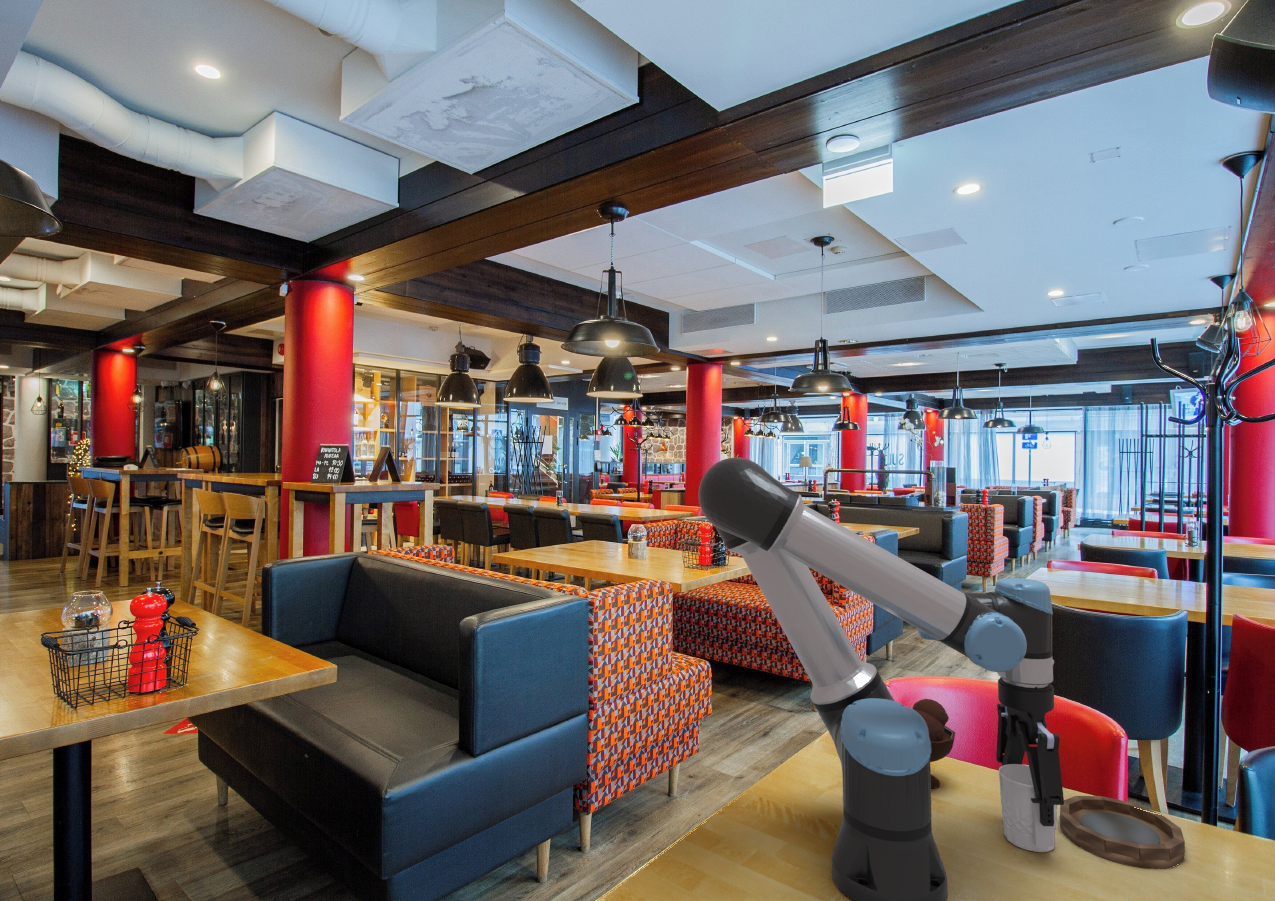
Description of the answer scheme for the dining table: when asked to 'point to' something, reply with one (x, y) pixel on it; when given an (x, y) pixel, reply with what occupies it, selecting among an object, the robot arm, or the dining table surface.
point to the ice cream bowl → (936, 731)
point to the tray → (1122, 832)
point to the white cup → (1019, 806)
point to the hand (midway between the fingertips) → (1029, 829)
